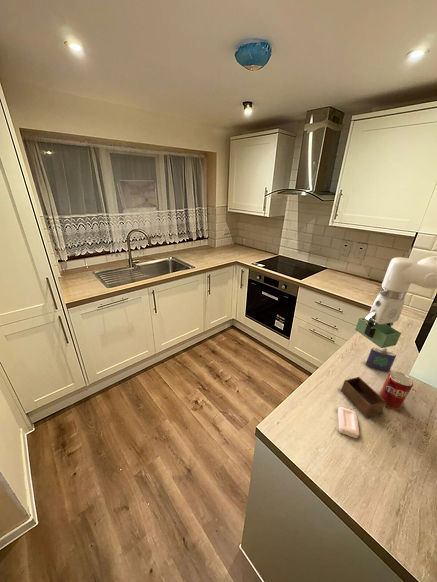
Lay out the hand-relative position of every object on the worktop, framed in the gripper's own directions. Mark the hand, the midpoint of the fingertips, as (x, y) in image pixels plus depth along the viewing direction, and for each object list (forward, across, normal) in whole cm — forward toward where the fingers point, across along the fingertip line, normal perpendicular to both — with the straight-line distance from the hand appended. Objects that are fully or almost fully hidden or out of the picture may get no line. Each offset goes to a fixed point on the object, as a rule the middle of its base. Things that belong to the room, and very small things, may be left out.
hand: (375, 333), depth 90 cm
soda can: (+22, 0, -14) cm, 26 cm away
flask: (+22, +12, +2) cm, 25 cm away
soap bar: (+22, -22, -16) cm, 35 cm away
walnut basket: (+22, -10, -10) cm, 26 cm away
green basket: (+2, 0, 0) cm, 2 cm away
